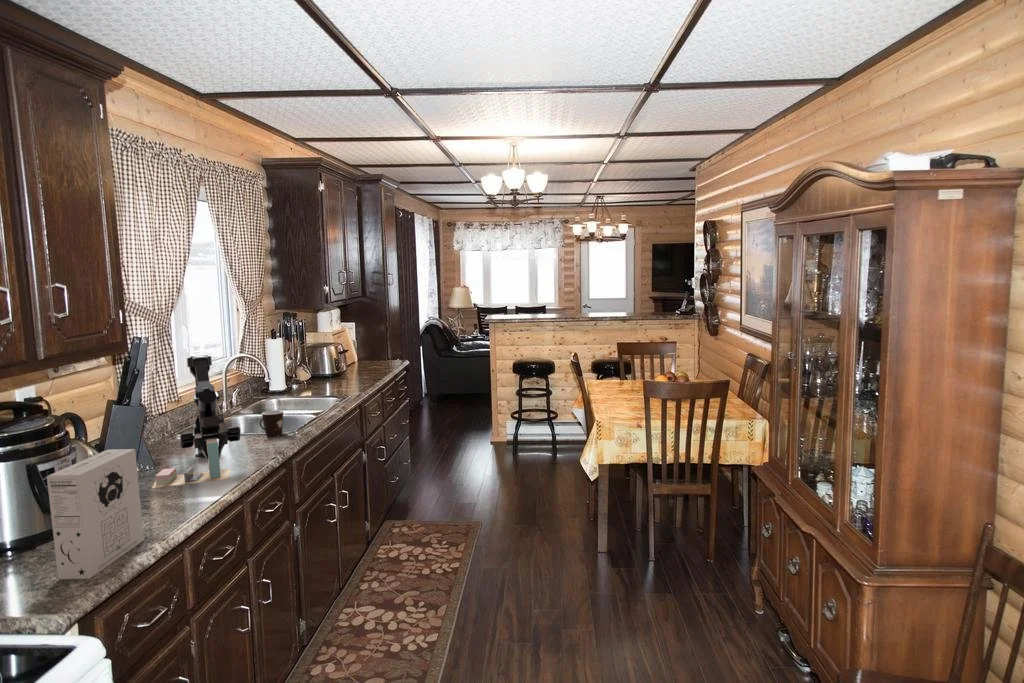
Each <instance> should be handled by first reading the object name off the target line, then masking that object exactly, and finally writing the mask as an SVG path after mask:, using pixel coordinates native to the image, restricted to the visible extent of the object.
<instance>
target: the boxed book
mask: <svg viewBox="0 0 1024 683" xmlns="http://www.w3.org/2000/svg"><path fill="white" fill-rule="evenodd" d="M218 443H219V440H218V439H208V440H206V444H207V452H208V460H207V465H208V466H207V467H208V471H209V476H210V479H212V478H218V477H221V475H220V470H221V466H220V462H221V461H220V458H219V450H218Z"/></svg>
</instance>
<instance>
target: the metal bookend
mask: <svg viewBox="0 0 1024 683" xmlns="http://www.w3.org/2000/svg"><path fill="white" fill-rule="evenodd" d="M193 473H194V467H193V466H190V467H189V468H188V469H186V471H185V472H184V473H183V474H184V479H185V482H193V481H198V480H199V478H200V477H201V476H202V475H203V474H193Z"/></svg>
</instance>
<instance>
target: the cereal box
mask: <svg viewBox="0 0 1024 683" xmlns="http://www.w3.org/2000/svg"><path fill="white" fill-rule="evenodd" d="M136 456H137V454H136V449H134V448H128V449H127V448H125V449H123V448H120V449H117V448H116V449H114V448H112V449H106V450H103V451H101V452H99V453H97V454H95V455H92V456H90V457H88V458H85V459H83V460H81V461H79V462H77V463H74V464H72V465H68V466H67V467H65V468H62V469H60V470H58V471H55V472H53V473H51V474H49V475H47V476H46V482H47V490H48V491H47V492H48V500H49V507H50V508H49V509H50V518H51V525H52V534H53V535H52V536H53V543H54V551H55V560H56V561H55V563H56V570H57V579H58V580H90V579H92V578H93V577H94V576H96V575H98V573H100V572H101V571H103V570H104V569H106V567H108V566H110V565H112V564H113V563H114V562H115V561H117V560H118V559H120V558H121V557H123V556H124V555H125V554H127V553H128V552H130V551H131V550H132V549H134V548H136V546H138V545H140V544H141V543H142V542H143V541H145V540H144V539H145V538H144V527H143V516H142V507H141V506H142V505H141V497H140V496H141V495H140V484H139V476H138V465H137V464H138V463H137V457H136Z"/></svg>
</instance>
